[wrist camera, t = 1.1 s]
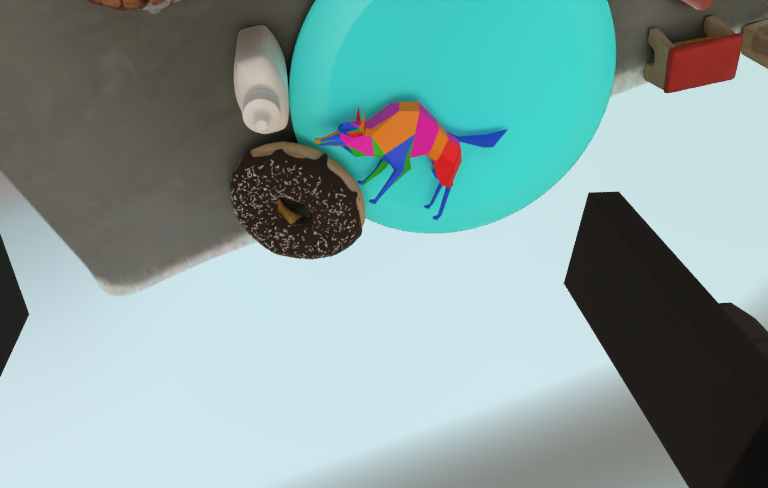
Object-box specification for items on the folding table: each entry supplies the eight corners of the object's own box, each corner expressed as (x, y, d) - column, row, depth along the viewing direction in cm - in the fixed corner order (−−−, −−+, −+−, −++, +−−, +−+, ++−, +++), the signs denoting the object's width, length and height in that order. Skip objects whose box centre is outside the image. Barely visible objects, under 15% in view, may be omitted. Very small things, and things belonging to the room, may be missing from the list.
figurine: (295, 164, 50) (337, 57, 47) (451, 211, 57) (497, 120, 53) (304, 186, 47) (350, 72, 43) (469, 233, 53) (520, 137, 50)
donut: (300, 252, 60) (288, 283, 57) (210, 165, 54) (192, 195, 51) (393, 212, 54) (384, 245, 51) (303, 110, 48) (289, 140, 46)
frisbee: (218, 108, 50) (216, 120, 48) (467, -189, 41) (476, -188, 39) (444, 272, 63) (449, 287, 61) (669, 75, 54) (683, 85, 53)
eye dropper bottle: (298, 32, 48) (306, 92, 38) (282, 100, 51) (285, 171, 41) (241, 16, 47) (234, 74, 37) (227, 87, 50) (218, 157, 40)
